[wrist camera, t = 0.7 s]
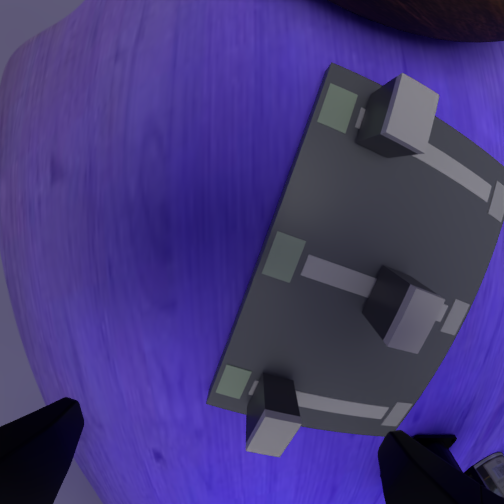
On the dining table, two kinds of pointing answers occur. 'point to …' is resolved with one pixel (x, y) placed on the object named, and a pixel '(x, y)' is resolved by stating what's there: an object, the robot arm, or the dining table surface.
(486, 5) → the wooden bowl
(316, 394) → the panel
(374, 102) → the block
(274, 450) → the breaker far
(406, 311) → the block
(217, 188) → the dining table surface
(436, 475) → the robot arm
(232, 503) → the dining table surface
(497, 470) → the coffee can
